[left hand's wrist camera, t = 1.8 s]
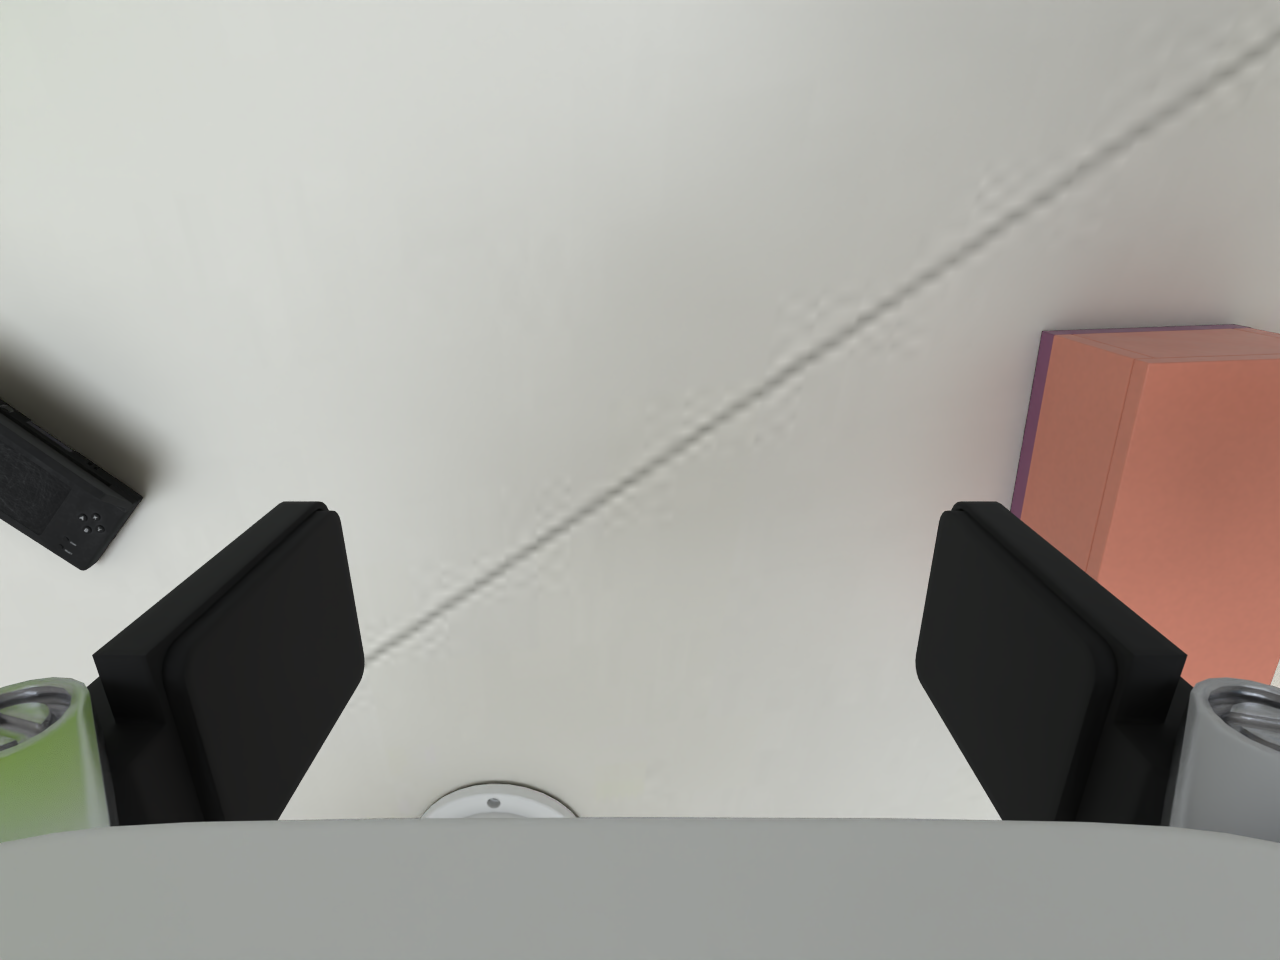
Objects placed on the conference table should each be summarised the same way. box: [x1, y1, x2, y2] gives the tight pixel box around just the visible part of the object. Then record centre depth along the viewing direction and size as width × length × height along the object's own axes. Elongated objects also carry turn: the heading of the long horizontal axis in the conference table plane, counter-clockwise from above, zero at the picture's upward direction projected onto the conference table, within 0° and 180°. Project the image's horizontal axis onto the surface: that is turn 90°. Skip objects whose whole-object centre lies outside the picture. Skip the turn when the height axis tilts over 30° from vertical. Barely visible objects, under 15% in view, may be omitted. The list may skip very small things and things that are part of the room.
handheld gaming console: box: [0, 399, 143, 570], centre depth 35 cm, size 12×7×10 cm
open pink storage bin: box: [1010, 324, 1280, 687], centre depth 35 cm, size 17×10×8 cm, turn 2°
